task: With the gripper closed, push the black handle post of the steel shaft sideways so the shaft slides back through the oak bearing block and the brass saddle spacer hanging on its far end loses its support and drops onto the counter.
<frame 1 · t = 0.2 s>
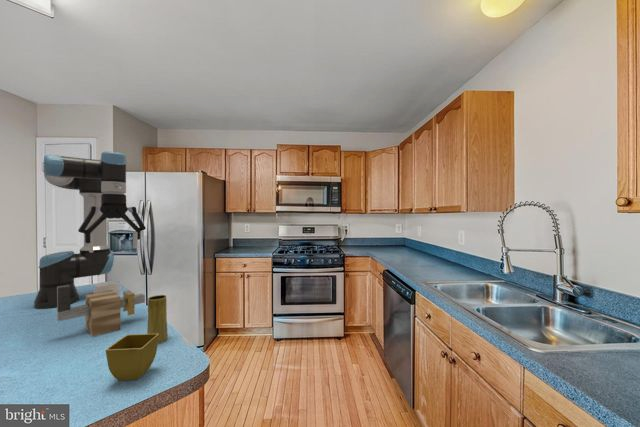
hand: (114, 250, 103), 28 cm above the counter, fingers open, 13 cm apart
shaft: (104, 295, 101), point 12 cm above the counter, slide at 0.0 cm, touching collar
bearing block: (103, 328, 100), on the counter
vase: (157, 340, 91), on the counter
collar: (128, 312, 106), point 3 cm above the counter, touching shaft
flower pot: (134, 375, 72), on the counter
cup: (107, 312, 117), on the counter
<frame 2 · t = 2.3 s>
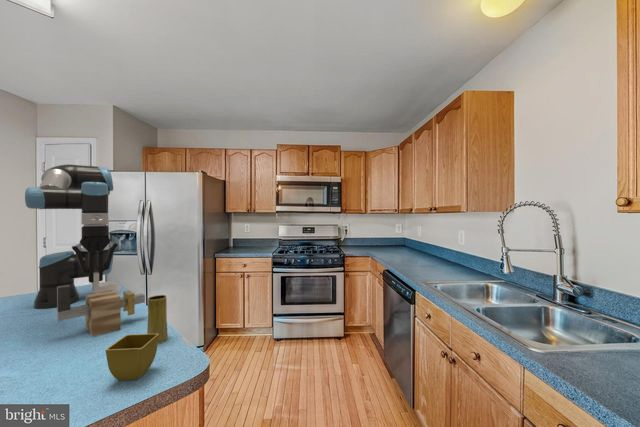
hand: (95, 290, 99), 14 cm above the counter, fingers closed
nothing on the counter moved.
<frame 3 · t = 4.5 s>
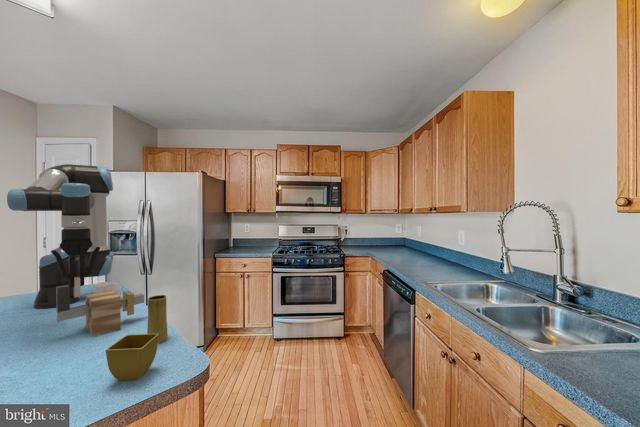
hand: (76, 296, 95), 13 cm above the counter, fingers closed
shaft: (104, 295, 101), point 12 cm above the counter, slide at 0.2 cm, touching collar, gripper
everything else where it was.
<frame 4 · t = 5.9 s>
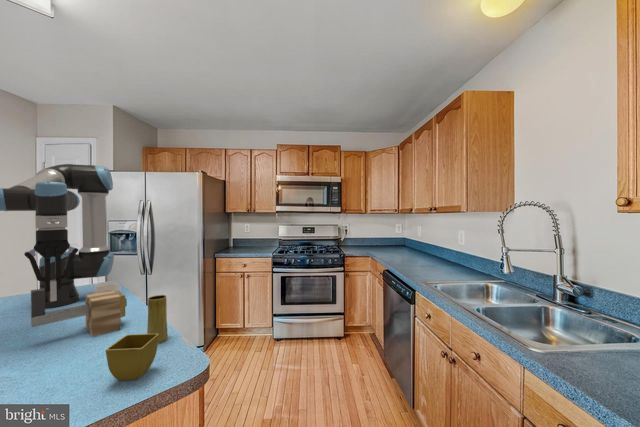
hand: (53, 300, 91), 13 cm above the counter, fingers closed
shaft: (82, 299, 96), point 12 cm above the counter, slide at 6.1 cm, touching collar, gripper
collar: (119, 314, 104), point 3 cm above the counter, touching shaft
everything else where it was.
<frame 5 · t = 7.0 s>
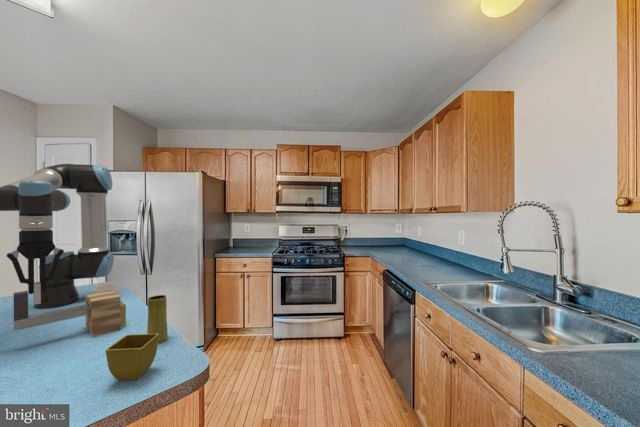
hand: (37, 303, 88), 13 cm above the counter, fingers closed
shaft: (68, 301, 93), point 12 cm above the counter, slide at 9.8 cm, touching gripper
collar: (120, 323, 104), on the counter
everything else where it was.
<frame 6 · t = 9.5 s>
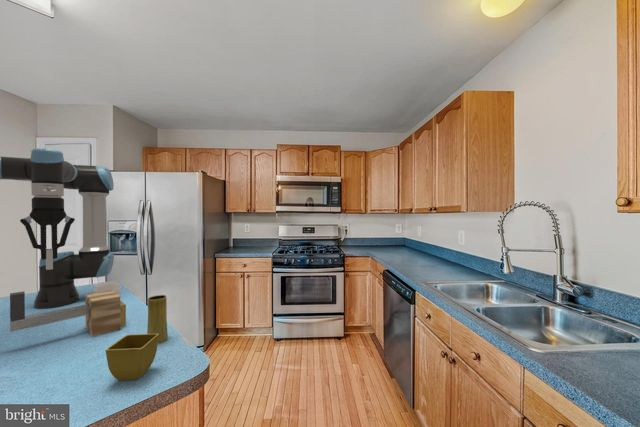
hand: (49, 268, 90), 24 cm above the counter, fingers closed
shaft: (65, 302, 93), point 12 cm above the counter, slide at 10.5 cm
everything else where it was.
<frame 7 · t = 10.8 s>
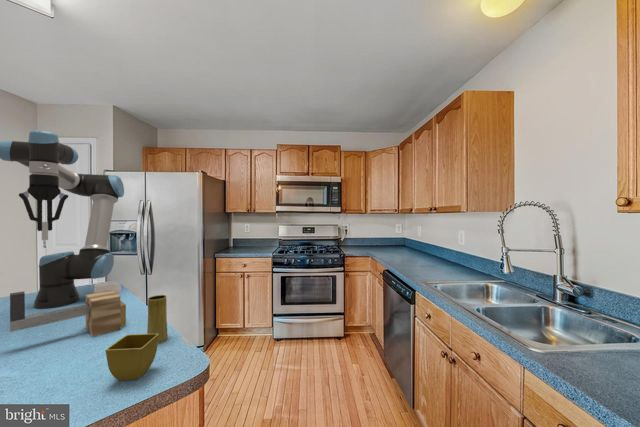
hand: (44, 239, 100), 32 cm above the counter, fingers closed
nothing on the counter moved.
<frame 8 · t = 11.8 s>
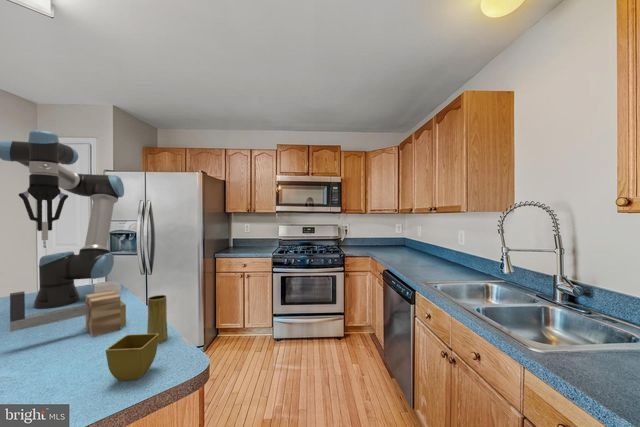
hand: (44, 239, 100), 32 cm above the counter, fingers closed
nothing on the counter moved.
at the end: shaft slide at 10.5 cm; collar touching counter; collar inside the target area (7.9 cm from its centre), on the counter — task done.
